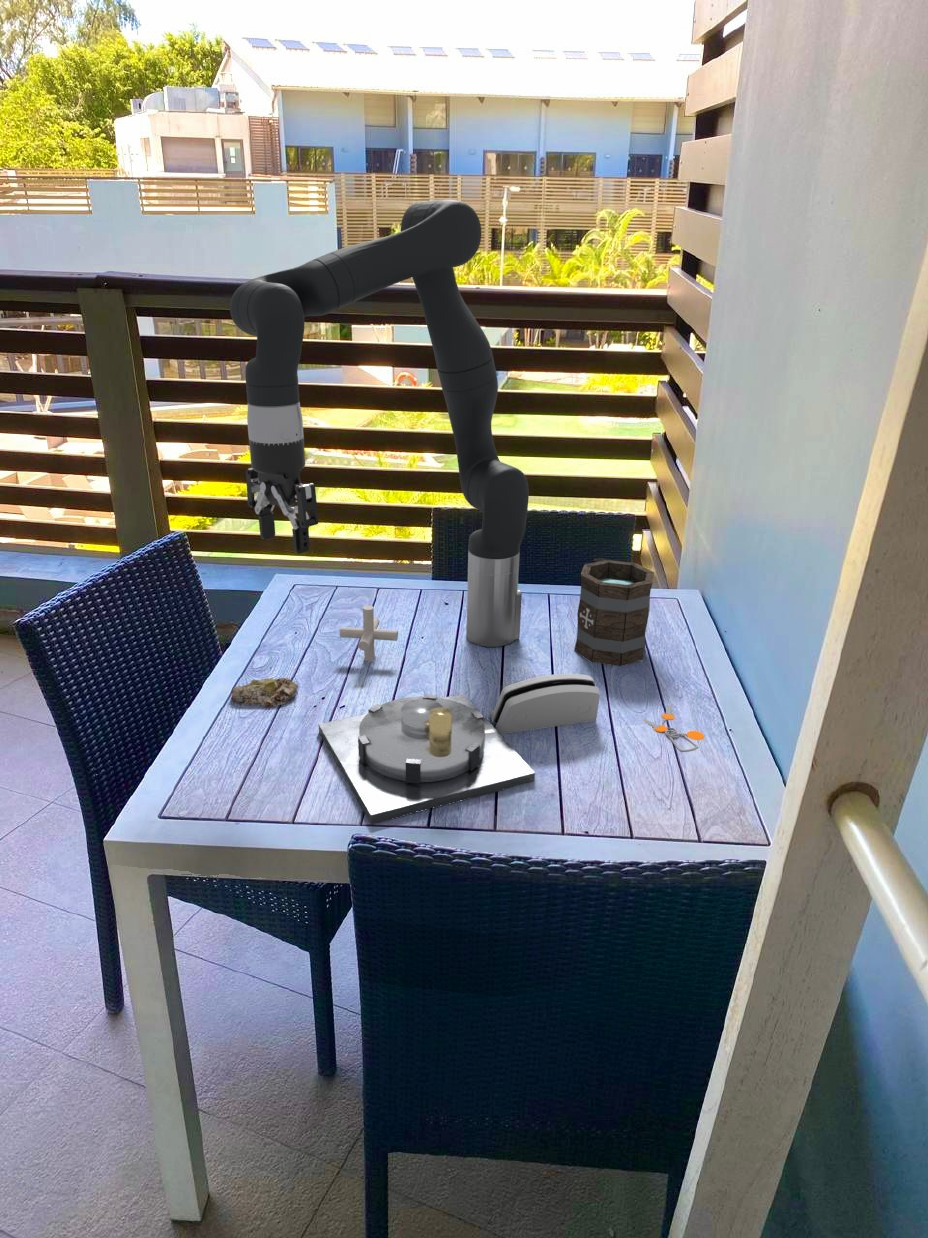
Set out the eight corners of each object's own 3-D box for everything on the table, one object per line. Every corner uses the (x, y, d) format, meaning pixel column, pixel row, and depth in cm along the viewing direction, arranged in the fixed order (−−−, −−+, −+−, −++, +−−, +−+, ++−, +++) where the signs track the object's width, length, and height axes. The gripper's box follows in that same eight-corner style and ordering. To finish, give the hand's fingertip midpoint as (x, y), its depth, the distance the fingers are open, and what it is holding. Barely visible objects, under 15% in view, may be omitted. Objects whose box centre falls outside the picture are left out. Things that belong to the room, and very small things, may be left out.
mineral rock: (295, 668, 145) (297, 678, 137) (298, 693, 146) (300, 705, 138) (229, 676, 143) (228, 687, 135) (232, 702, 144) (231, 714, 136)
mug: (657, 664, 154) (667, 586, 148) (583, 667, 152) (590, 589, 146) (624, 618, 172) (632, 547, 165) (558, 621, 170) (563, 549, 164)
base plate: (462, 701, 140) (462, 693, 140) (534, 781, 121) (535, 772, 120) (318, 732, 131) (318, 723, 130) (371, 824, 111) (371, 814, 111)
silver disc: (341, 728, 129) (339, 675, 125) (455, 704, 136) (456, 653, 132) (382, 795, 114) (381, 737, 110) (507, 763, 121) (510, 708, 118)
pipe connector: (401, 648, 157) (401, 598, 153) (392, 674, 148) (391, 621, 144) (347, 645, 158) (346, 594, 154) (335, 670, 149) (332, 617, 145)
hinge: (584, 704, 140) (598, 662, 134) (595, 727, 137) (609, 685, 130) (486, 717, 136) (495, 675, 129) (495, 741, 133) (505, 698, 126)
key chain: (717, 747, 130) (718, 743, 130) (675, 755, 128) (675, 751, 128) (672, 706, 141) (672, 702, 141) (632, 713, 139) (633, 708, 139)
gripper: (329, 439, 118) (334, 551, 125) (269, 422, 127) (278, 527, 134) (283, 448, 114) (291, 563, 120) (225, 430, 123) (235, 538, 129)
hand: (284, 544), depth 127 cm, fingers open, 8 cm apart
